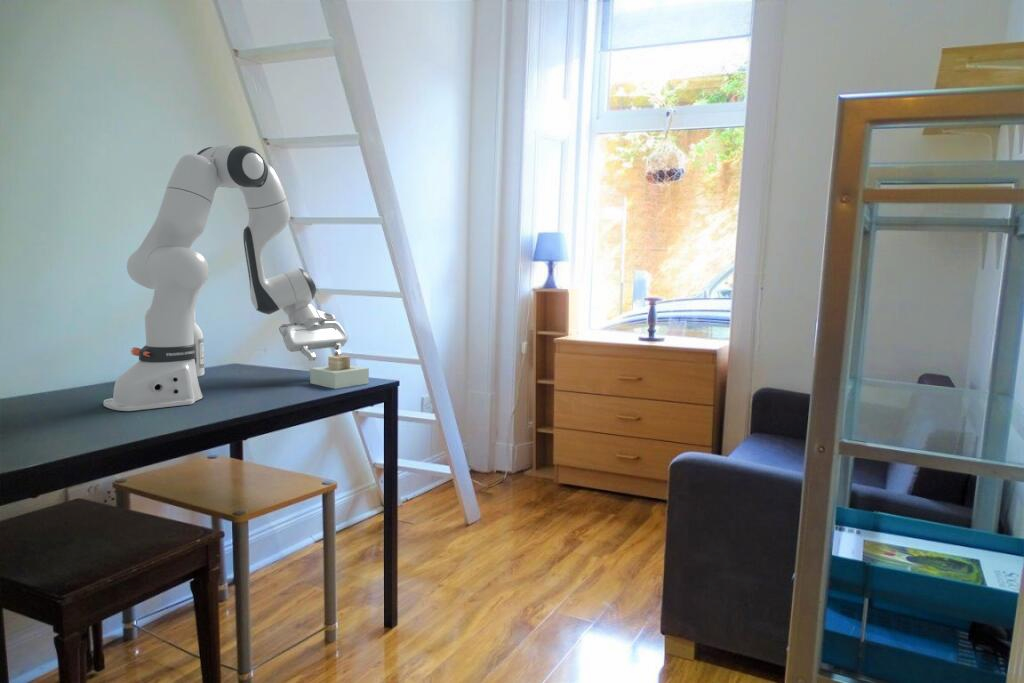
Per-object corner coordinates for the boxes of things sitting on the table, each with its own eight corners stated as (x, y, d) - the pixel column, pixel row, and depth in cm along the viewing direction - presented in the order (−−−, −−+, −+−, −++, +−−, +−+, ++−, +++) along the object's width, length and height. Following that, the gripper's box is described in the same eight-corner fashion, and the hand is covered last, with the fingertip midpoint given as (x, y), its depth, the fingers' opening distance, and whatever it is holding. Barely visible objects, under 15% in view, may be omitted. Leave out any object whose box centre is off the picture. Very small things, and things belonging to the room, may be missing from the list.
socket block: (335, 388, 200) (335, 373, 200) (310, 383, 208) (310, 368, 207) (368, 383, 209) (368, 368, 209) (343, 378, 217) (343, 363, 216)
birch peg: (337, 385, 206) (337, 358, 205) (328, 383, 208) (328, 356, 207) (350, 383, 209) (349, 356, 208) (340, 381, 212) (340, 355, 211)
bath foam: (199, 373, 221) (197, 309, 218) (207, 376, 216) (205, 310, 213) (176, 375, 216) (173, 310, 214) (184, 378, 211) (181, 311, 209)
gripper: (280, 318, 207) (300, 354, 202) (338, 314, 223) (358, 348, 218) (272, 331, 210) (292, 368, 205) (330, 327, 226) (349, 360, 221)
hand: (326, 357), depth 212 cm, fingers open, 8 cm apart
